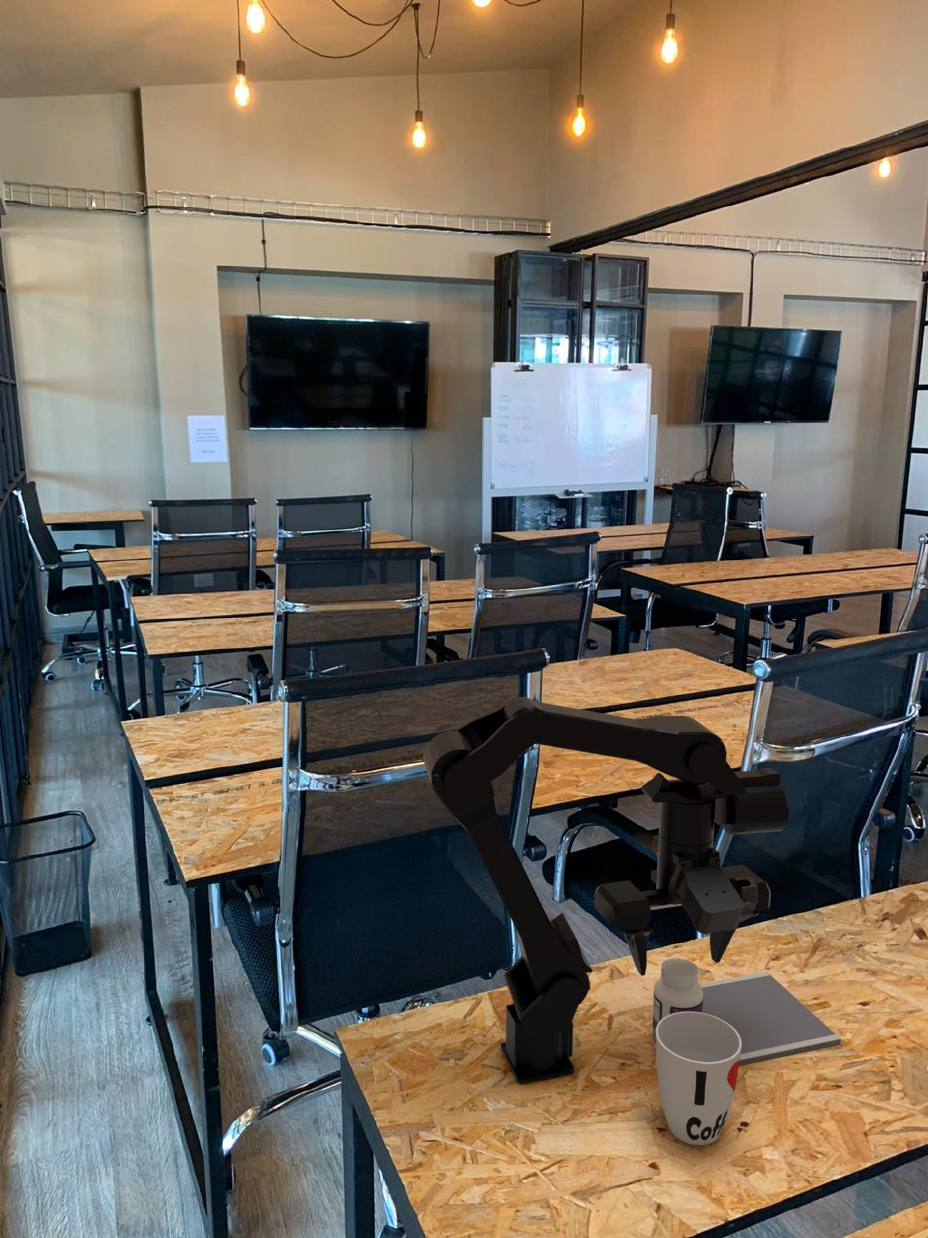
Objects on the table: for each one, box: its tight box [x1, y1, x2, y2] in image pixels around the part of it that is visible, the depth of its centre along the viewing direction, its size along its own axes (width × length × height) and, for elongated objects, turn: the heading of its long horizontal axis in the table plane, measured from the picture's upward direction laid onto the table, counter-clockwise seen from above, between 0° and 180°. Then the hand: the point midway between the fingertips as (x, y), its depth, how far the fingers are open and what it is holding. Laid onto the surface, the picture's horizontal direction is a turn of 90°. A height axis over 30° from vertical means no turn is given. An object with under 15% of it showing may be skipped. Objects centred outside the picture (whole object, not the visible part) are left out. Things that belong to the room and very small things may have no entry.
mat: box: [698, 971, 842, 1066], centre depth 109 cm, size 14×14×1 cm
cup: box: [655, 1011, 742, 1146], centre depth 91 cm, size 8×8×10 cm
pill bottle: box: [651, 957, 703, 1050], centre depth 103 cm, size 5×5×10 cm
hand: (678, 967), depth 102 cm, fingers open, 9 cm apart
